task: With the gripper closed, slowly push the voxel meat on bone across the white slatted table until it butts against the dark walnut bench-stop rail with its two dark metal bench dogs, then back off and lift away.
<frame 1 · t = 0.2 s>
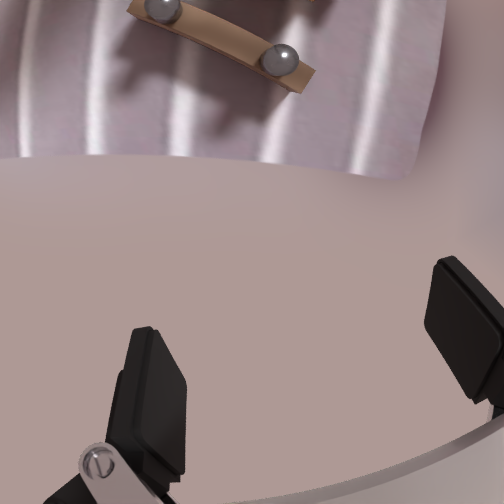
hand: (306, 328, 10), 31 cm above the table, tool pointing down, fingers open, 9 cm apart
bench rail: (220, 39, 30), on the table
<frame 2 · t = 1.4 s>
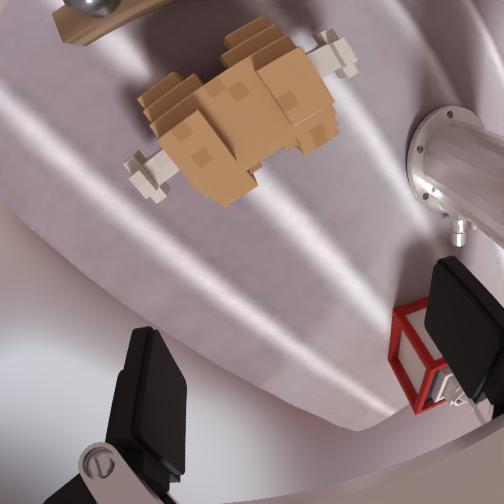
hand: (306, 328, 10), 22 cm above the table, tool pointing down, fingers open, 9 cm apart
pendant light: (421, 323, 44), on the table
voxel meat on bone: (234, 104, 26), on the table
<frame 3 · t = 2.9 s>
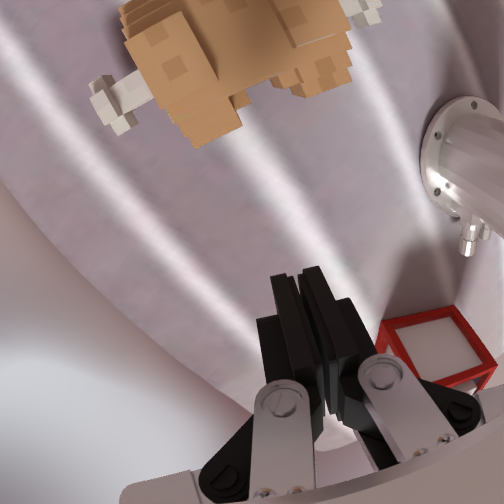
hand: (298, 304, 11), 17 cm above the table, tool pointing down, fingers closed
pendant light: (409, 342, 39), on the table
voxel meat on bone: (233, 46, 21), on the table
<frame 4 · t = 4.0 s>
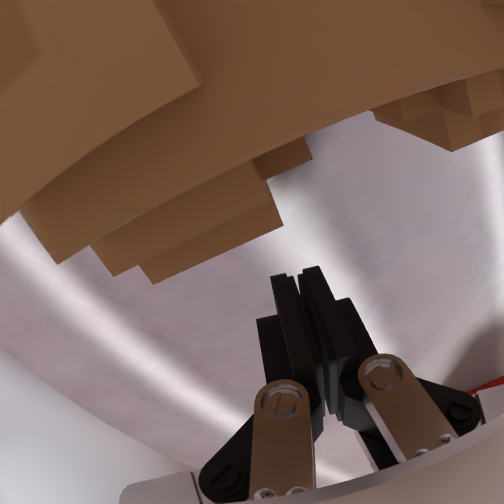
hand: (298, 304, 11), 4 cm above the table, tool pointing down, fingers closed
voxel meat on bone: (244, 15, 10), on the table
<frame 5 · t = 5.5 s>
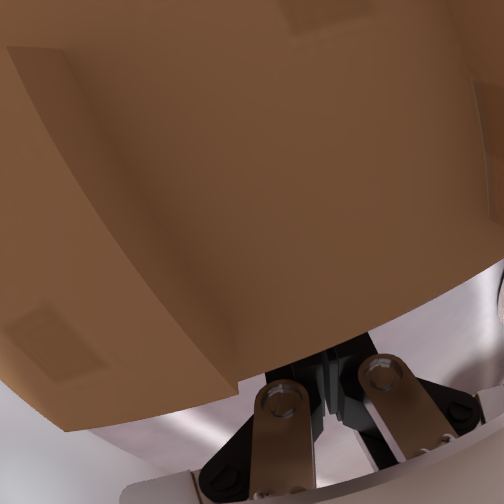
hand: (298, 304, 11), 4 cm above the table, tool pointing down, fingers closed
voxel meat on bone: (248, 91, 11), on the table
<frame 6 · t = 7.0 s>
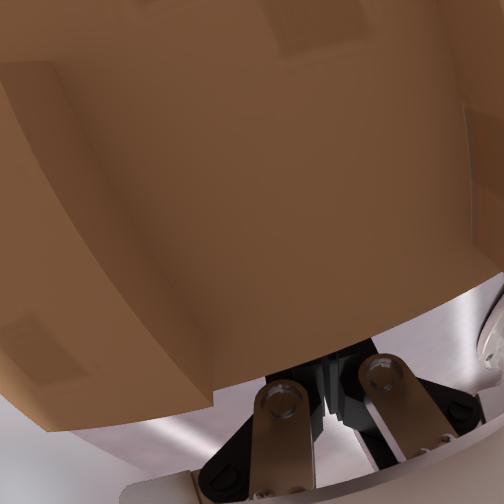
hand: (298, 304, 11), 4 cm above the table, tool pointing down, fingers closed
voxel meat on bone: (241, 96, 11), on the table, touching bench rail, gripper
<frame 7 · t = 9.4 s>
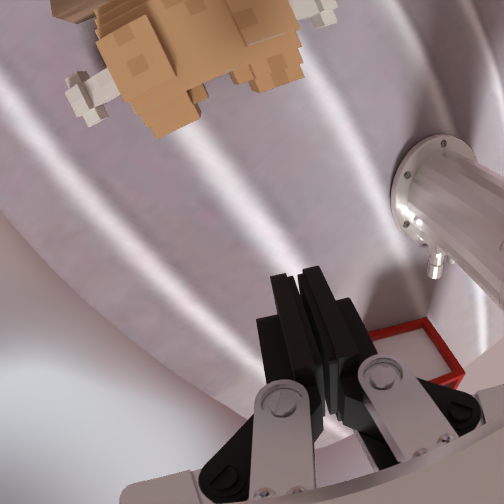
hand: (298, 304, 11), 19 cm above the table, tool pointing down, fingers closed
pendant light: (385, 351, 44), on the table
voxel meat on bone: (200, 46, 22), on the table
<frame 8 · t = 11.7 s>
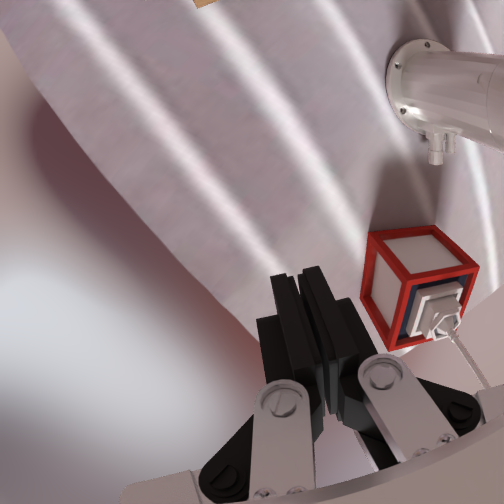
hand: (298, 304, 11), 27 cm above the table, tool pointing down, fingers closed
pendant light: (397, 261, 45), on the table
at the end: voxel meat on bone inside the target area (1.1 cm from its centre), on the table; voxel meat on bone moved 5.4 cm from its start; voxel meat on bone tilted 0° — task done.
